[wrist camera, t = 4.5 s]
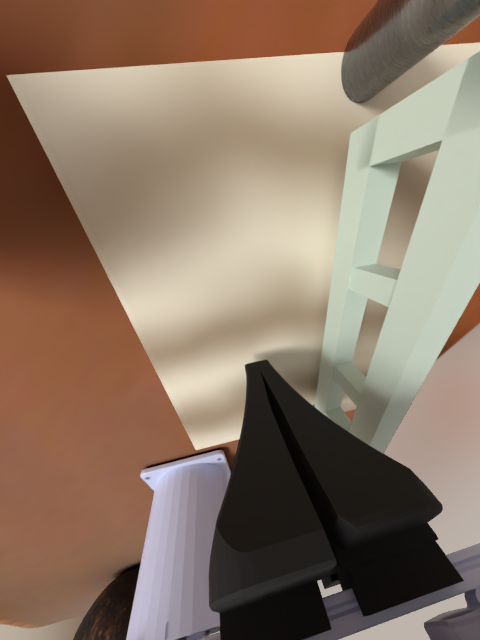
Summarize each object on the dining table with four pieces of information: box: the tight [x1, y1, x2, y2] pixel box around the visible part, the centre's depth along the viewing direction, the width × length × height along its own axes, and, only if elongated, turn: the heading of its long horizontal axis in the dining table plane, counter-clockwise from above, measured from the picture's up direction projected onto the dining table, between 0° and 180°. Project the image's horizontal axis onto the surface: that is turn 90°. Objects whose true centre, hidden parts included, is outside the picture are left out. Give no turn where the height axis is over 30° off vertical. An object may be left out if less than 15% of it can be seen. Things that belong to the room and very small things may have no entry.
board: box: [6, 43, 480, 450], centre depth 11 cm, size 21×20×1 cm
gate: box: [315, 51, 480, 453], centre depth 8 cm, size 16×1×4 cm, turn 7°
